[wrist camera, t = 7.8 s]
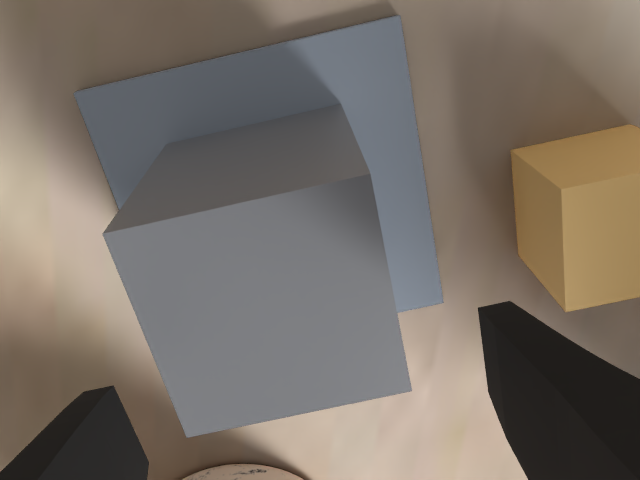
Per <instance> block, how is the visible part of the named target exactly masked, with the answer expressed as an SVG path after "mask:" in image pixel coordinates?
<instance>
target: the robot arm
mask: <svg viewBox="0 0 640 480" xmlns="http://www.w3.org/2000/svg"><path fill="white" fill-rule="evenodd" d="M478 312H479V320H480V328H481V336H482V344H483V353H484V361H485V369H486V377H487V385H488V392H489V395H490V398H491V400H492V403H493V406H494V408H495V411H496V413H497V416H498V419H499V421H500V423H501V426H502V428H503V431H504V433H505V436H506V438H507V440H508V442H509V444H510V446H511V448H512V450H513V452H514V454H515V456H516V457H517V459H518V461H519V463H520V465H521V467H522V469H523V471H524V472H525V474H526V476H527V478H528V480H640V379H638V378H636V377H634V376H632V375H630V374H629V373H627V372H625V371H623V370H621V369H619V368H617V367H615V366H613V365H612V364H610V363H608V362H606V361H604V360H603V359H601V358H599V357H597V356H596V355H594V354H592V353H590V352H589V351H587V350H585V349H584V348H582V347H580V346H579V345H577V344H576V343H574V342H572V341H571V340H569V339H567V338H566V337H564V336H563V335H561V334H560V333H558V332H556V331H555V330H553V329H552V328H550V327H549V326H547V325H546V324H544V323H543V322H541V321H540V320H538V319H537V318H535V317H534V316H532V315H531V314H529V313H527V312H526V311H524V310H523V309H521V308H520V307H518V306H517V305H515V304H514V303H512V302H511V301H508V302H503V303H498V304H494V305H489V306H484V307H479V308H478ZM148 466H149V462H148V459H147V457H146V455H145V453H144V451H143V449H142V446H141V444H140V442H139V440H138V438H137V436H136V433H135V431H134V429H133V427H132V425H131V422H130V420H129V418H128V416H127V414H126V412H125V409H124V407H123V405H122V403H121V401H120V399H119V396H118V394H117V392H116V390H115V388H114V386H109V387H104V388H100V389H95V390H90V391H85V392H83V393H82V394H81V395H79V396H78V397H77V398H76V399H75V400H74V401H73V402H71V403H70V404H69V405H68V406H67V407H66V408H65V409H64V410H63V411H62V412H61V413H60V414H59V415H58V416H57V417H56V418H55V419H54V420H53V421H52V422H51V423H50V424H49V425H48V426H47V427H46V428H45V429H44V430H43V431H42V432H41V433H40V434H39V435H38V436H37V437H36V438H35V439H34V440H33V441H32V442H31V443H30V444H28V445H27V446H26V447H25V448H24V449H23V450H22V451H21V452H20V453H19V454H18V455H17V456H16V457H15V458H14V459H13V460H12V461H11V462H10V463H9V464H8V465H7V466H6V467H5V468H4V469H3V470H2V471H1V472H0V480H147V474H148Z"/></svg>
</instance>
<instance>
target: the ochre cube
mask: <svg viewBox="0 0 640 480" xmlns="http://www.w3.org/2000/svg"><path fill="white" fill-rule="evenodd" d="M511 162H512V176H513V190H514V204H515V217H516V231H517V245H518V256H519V257H520V258H521V259H522V260H523V262H524V263H525V264H526V265H527V266H528V268H529V269H530V270H531V271H532V272H533V274H534V275H535V276H536V277H537V278H538V280H539V281H540V282H541V283H542V284H543V286H544V287H545V288H546V289H547V291H548V292H549V293H550V294H551V295H552V297H553V298H554V299H555V300H556V301H557V303H558V304H559V305H560V306H561V307H562V309H563V310H564V311H565V312H570V311H575V310H580V309H585V308H589V307H594V306H599V305H604V304H609V303H614V302H619V301H624V300H628V299H633V298H638V297H640V128H638V127H636V126H634V125H631V124H629V125H624V126H620V127H615V128H610V129H606V130H601V131H596V132H592V133H587V134H582V135H578V136H573V137H568V138H564V139H559V140H554V141H550V142H545V143H541V144H536V145H531V146H527V147H522V148H517V149H513V150H511Z"/></svg>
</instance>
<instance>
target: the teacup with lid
mask: <svg viewBox="0 0 640 480" xmlns="http://www.w3.org/2000/svg"><path fill="white" fill-rule="evenodd" d="M182 480H304V479H302V478H300V477H298V476H296V475H294V474H292V473H290V472H287V471H284V470H281V469H278V468H274V467H269V466H264V465H255V464H231V465H223V466H217V467H212V468H209V469H205V470H202V471H199V472H197V473H194V474H192V475H190V476H188V477H186V478H184V479H182Z"/></svg>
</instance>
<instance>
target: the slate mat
mask: <svg viewBox="0 0 640 480" xmlns="http://www.w3.org/2000/svg"><path fill="white" fill-rule="evenodd" d="M73 94H74V96H75V99H76V101H77V104H78V106H79V109H80V112H81V114H82V117H83V119H84V122H85V124H86V127H87V129H88V132H89V134H90V137H91V140H92V142H93V145H94V147H95V150H96V152H97V155H98V157H99V160H100V162H101V165H102V168H103V170H104V173H105V175H106V178H107V180H108V183H109V185H110V188H111V190H112V193H113V196H114V198H115V201H116V203H117V206H118V208H119V210H120V209H121V207H122V206H123V204H124V203H125V202H126V200H127V199H128V197H129V196H130V194H131V193H132V192H133V190H134V189H135V187H136V186H137V185H138V183H139V182H140V180H141V179H142V178H143V176H144V175H145V173H146V172H147V171H148V169H149V168H150V166H151V165H152V163H153V162H154V161H155V159H156V158H157V156H158V155H159V154H160V152H161V151H162V149H163V148H164V147H165V145H166V144H168V143H172V142H177V141H181V140H185V139H190V138H194V137H198V136H203V135H207V134H211V133H216V132H220V131H224V130H229V129H233V128H237V127H242V126H246V125H250V124H255V123H259V122H263V121H268V120H272V119H276V118H281V117H285V116H289V115H294V114H298V113H302V112H307V111H311V110H315V109H320V108H324V107H328V106H333V105H337V104H341V105H342V107H343V109H344V112H345V114H346V116H347V119H348V121H349V124H350V126H351V128H352V131H353V133H354V135H355V138H356V140H357V143H358V145H359V147H360V150H361V152H362V154H363V157H364V159H365V162H366V164H367V166H368V169H369V171H370V174H371V179H372V184H373V189H374V194H375V200H376V205H377V210H378V215H379V221H380V226H381V231H382V236H383V242H384V247H385V252H386V257H387V263H388V268H389V273H390V278H391V284H392V289H393V294H394V299H395V304H396V310H397V313H399V312H403V311H408V310H413V309H417V308H422V307H427V306H431V305H436V304H441V303H444V302H443V295H442V289H441V282H440V275H439V269H438V262H437V255H436V249H435V242H434V236H433V229H432V222H431V216H430V209H429V202H428V196H427V189H426V182H425V176H424V169H423V163H422V156H421V149H420V143H419V136H418V129H417V123H416V116H415V110H414V103H413V96H412V90H411V83H410V76H409V70H408V63H407V56H406V50H405V43H404V37H403V30H402V23H401V17H400V15H395V16H391V17H387V18H383V19H379V20H374V21H370V22H366V23H362V24H357V25H353V26H349V27H345V28H341V29H336V30H332V31H328V32H324V33H319V34H315V35H311V36H307V37H303V38H298V39H294V40H290V41H286V42H281V43H277V44H273V45H269V46H265V47H260V48H256V49H252V50H248V51H243V52H239V53H235V54H231V55H227V56H222V57H218V58H214V59H210V60H206V61H201V62H197V63H193V64H189V65H184V66H180V67H176V68H172V69H168V70H163V71H159V72H155V73H151V74H146V75H142V76H138V77H134V78H130V79H125V80H121V81H117V82H113V83H108V84H104V85H100V86H96V87H92V88H87V89H83V90H79V91H76V92H75V93H73Z"/></svg>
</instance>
